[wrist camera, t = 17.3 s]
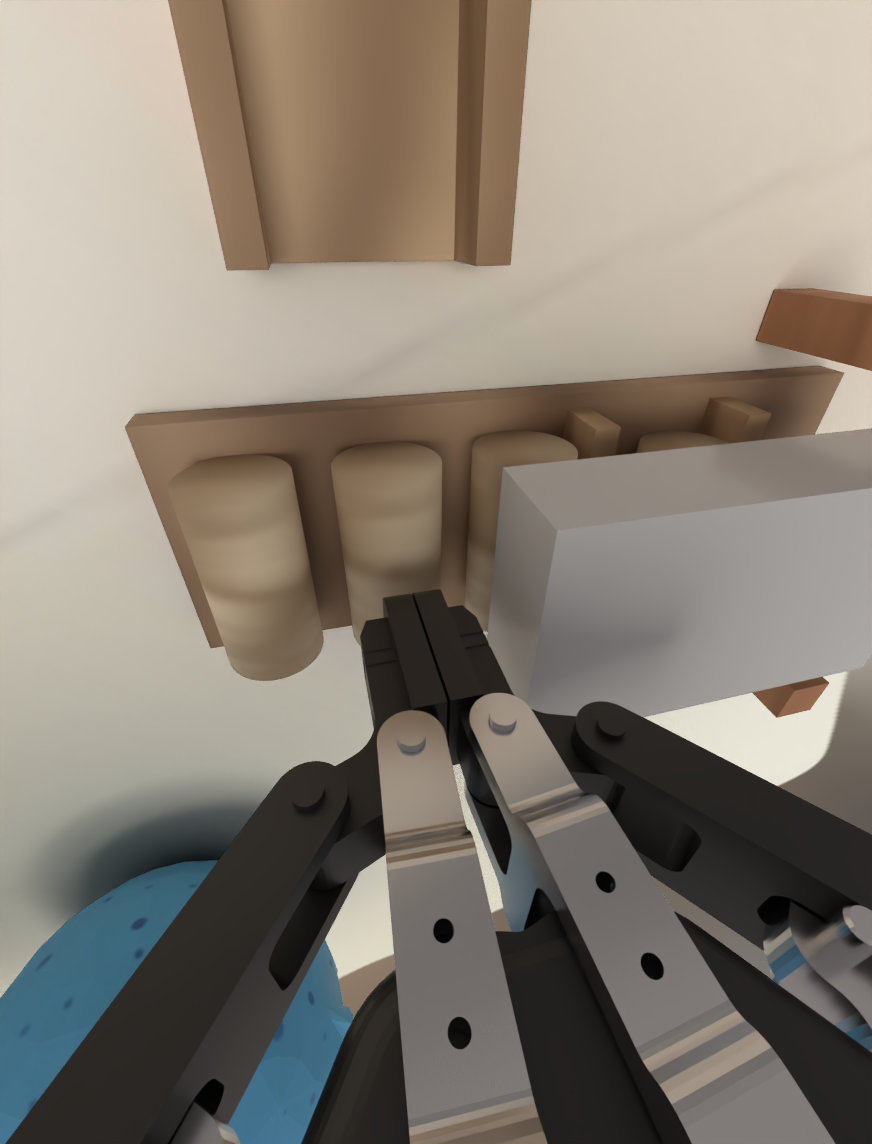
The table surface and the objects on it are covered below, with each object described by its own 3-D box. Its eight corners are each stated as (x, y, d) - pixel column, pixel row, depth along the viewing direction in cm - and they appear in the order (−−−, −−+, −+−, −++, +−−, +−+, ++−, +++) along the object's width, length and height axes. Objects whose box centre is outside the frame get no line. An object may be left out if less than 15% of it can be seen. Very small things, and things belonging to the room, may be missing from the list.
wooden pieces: (230, 674, 19) (208, 855, 14) (-136, -315, 7) (-1730, -2321, 1) (718, 589, 24) (846, 700, 18) (1029, -103, 11) (1712, -397, 6)
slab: (484, 666, 16) (519, 745, 13) (503, 467, 12) (557, 530, 9) (787, 609, 18) (862, 667, 16) (892, 426, 14) (1014, 468, 12)
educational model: (95, 973, 31) (-19, 1424, 20) (-31, 824, 21) (-446, 1616, 9) (339, 917, 36) (364, 1262, 24) (337, 768, 25) (382, 1262, 13)
